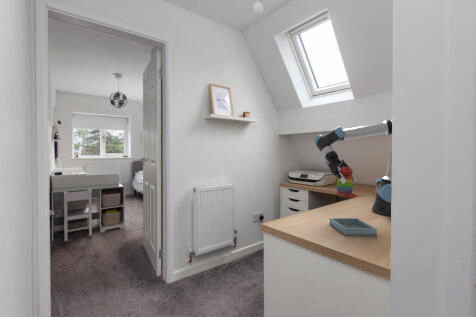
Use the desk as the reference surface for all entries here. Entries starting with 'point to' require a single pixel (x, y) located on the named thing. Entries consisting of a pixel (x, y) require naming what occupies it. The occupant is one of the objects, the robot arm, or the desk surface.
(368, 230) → the blue-grey square tray
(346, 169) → the stacking bear
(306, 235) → the desk surface
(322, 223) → the desk surface
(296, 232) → the desk surface
